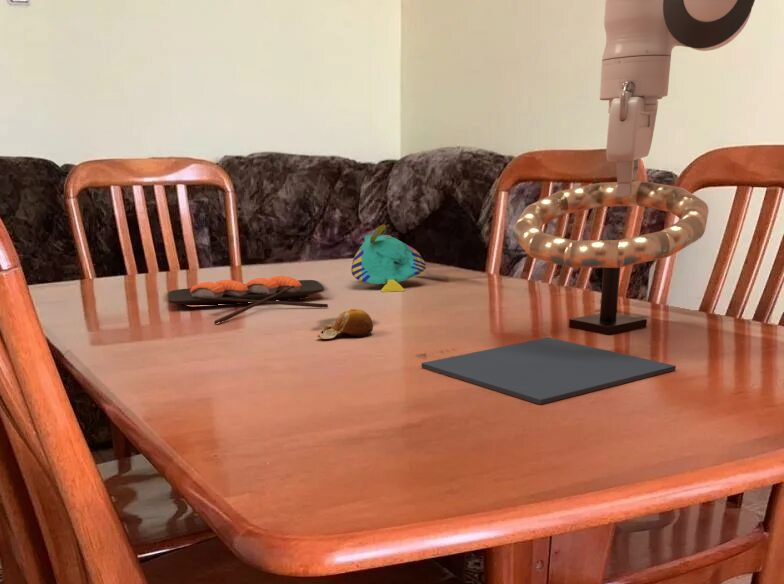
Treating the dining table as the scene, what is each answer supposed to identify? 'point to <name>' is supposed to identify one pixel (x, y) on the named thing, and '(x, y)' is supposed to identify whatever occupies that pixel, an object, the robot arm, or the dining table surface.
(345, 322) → the fruit
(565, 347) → the mat
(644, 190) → the ring
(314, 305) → the sushi plate
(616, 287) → the post
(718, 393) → the dining table surface
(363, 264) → the decorative fish
